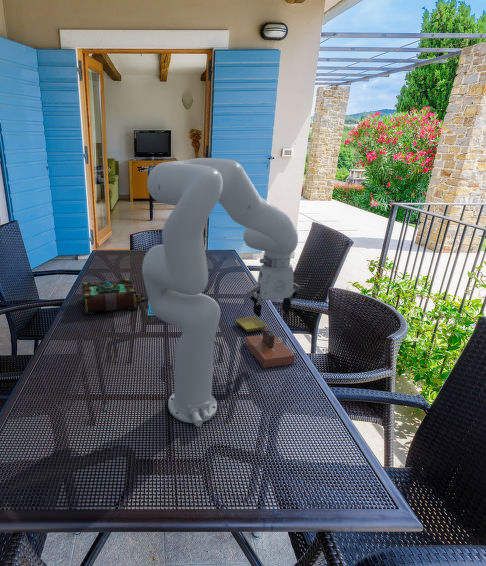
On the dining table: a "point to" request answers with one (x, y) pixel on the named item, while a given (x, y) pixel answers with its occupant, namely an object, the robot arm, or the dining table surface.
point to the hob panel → (269, 352)
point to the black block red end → (268, 338)
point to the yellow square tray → (251, 323)
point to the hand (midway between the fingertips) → (271, 313)
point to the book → (109, 296)
